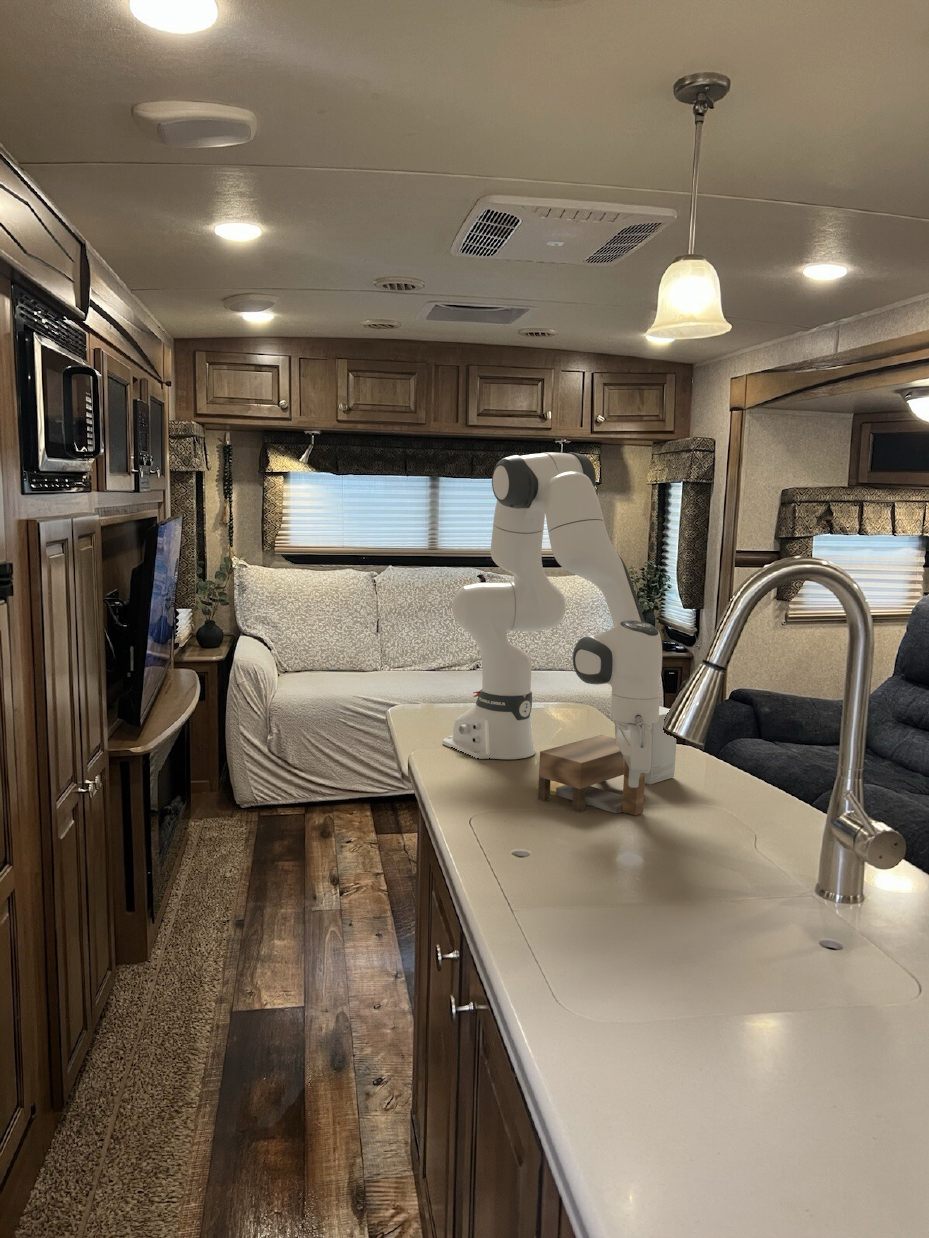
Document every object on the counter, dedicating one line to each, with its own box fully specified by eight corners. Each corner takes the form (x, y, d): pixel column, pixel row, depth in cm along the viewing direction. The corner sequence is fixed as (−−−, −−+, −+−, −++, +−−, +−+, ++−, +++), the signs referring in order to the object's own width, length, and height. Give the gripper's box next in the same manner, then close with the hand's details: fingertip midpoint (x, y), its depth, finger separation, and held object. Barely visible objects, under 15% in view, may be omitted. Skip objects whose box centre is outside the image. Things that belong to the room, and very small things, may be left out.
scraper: (648, 810, 173) (651, 738, 171) (630, 817, 169) (633, 743, 167) (574, 788, 185) (577, 721, 183) (556, 795, 181) (558, 725, 179)
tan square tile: (536, 790, 185) (536, 785, 184) (552, 785, 188) (552, 780, 188) (555, 796, 181) (556, 791, 181) (571, 791, 185) (571, 786, 184)
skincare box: (653, 771, 199) (657, 704, 197) (675, 778, 194) (680, 710, 192) (627, 778, 194) (631, 709, 192) (650, 785, 189) (654, 715, 187)
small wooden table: (537, 799, 178) (539, 751, 177) (599, 778, 192) (601, 734, 191) (579, 812, 171) (581, 762, 170) (639, 790, 185) (642, 744, 184)
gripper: (662, 723, 159) (657, 800, 161) (643, 698, 179) (639, 766, 181) (625, 722, 159) (621, 799, 161) (610, 697, 179) (607, 765, 181)
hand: (630, 781), depth 171 cm, fingers closed on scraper, 4 cm apart
